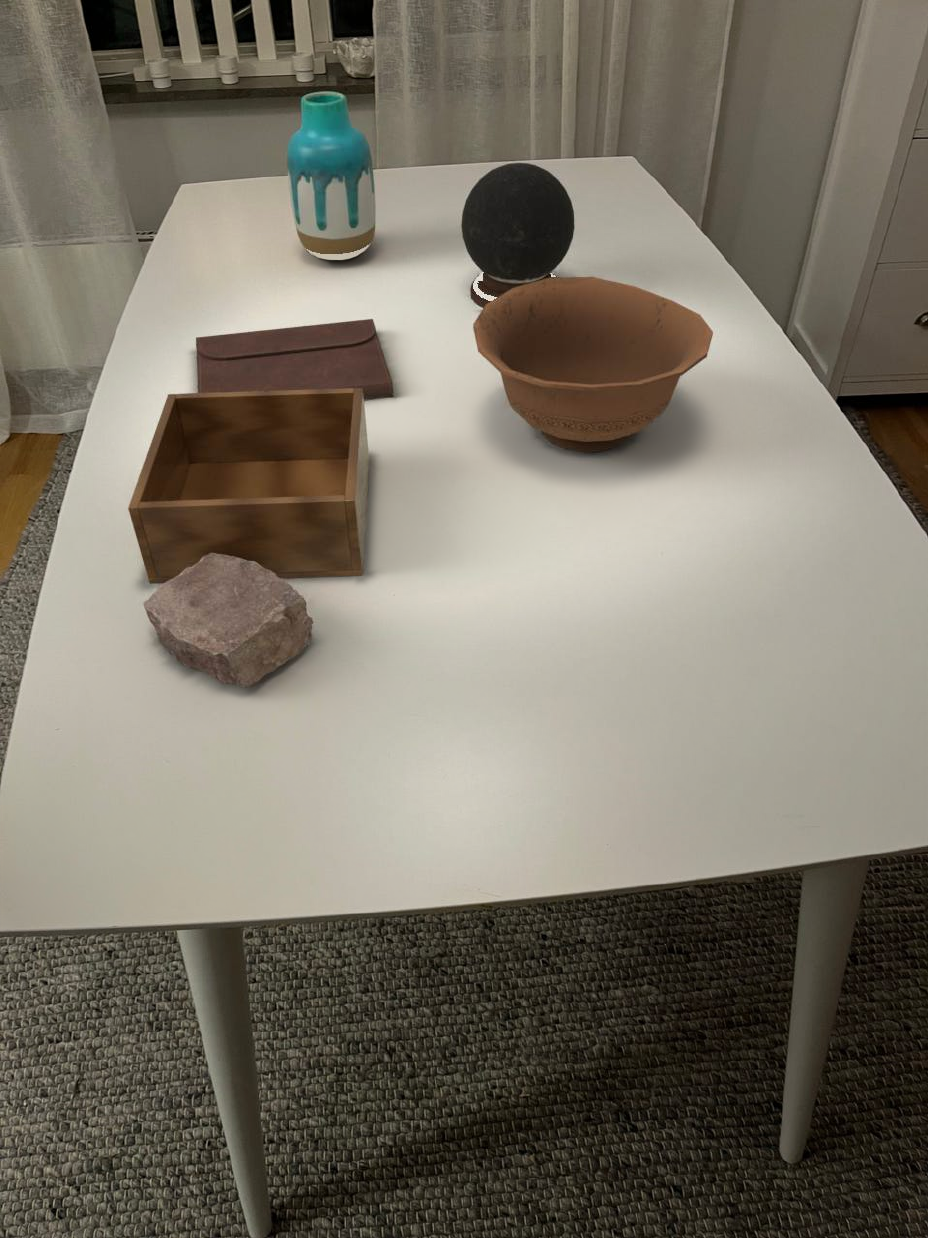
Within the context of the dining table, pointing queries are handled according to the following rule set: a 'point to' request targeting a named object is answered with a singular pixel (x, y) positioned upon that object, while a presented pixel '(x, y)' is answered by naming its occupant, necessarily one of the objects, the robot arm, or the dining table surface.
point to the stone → (230, 619)
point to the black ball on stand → (516, 227)
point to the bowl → (589, 356)
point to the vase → (331, 178)
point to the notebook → (295, 360)
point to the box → (256, 483)
